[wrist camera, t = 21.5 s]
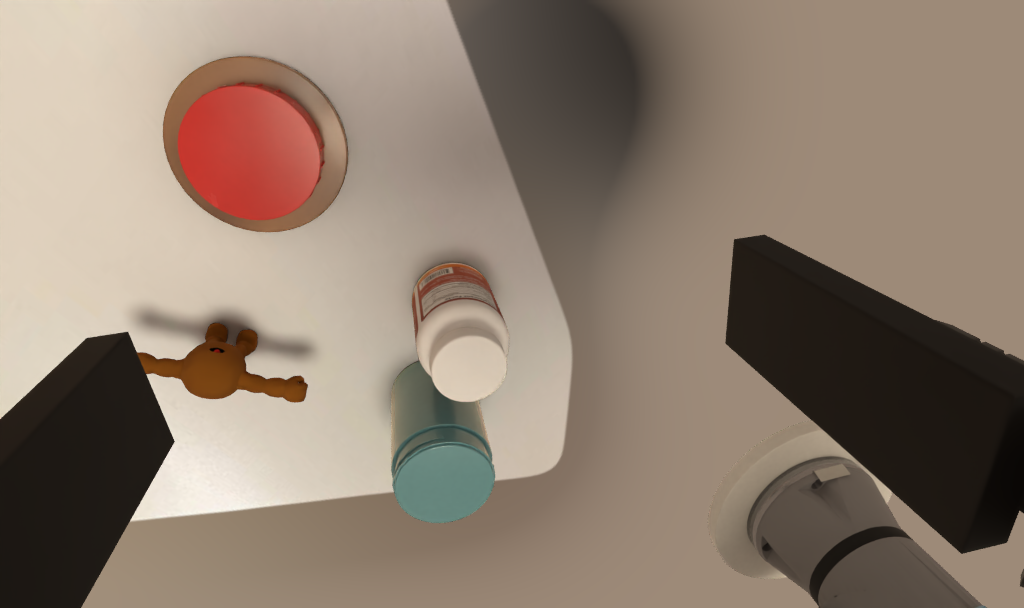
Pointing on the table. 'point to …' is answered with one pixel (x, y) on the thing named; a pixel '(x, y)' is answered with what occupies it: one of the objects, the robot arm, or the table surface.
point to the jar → (437, 450)
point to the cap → (251, 151)
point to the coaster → (293, 86)
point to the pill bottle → (460, 332)
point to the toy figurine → (223, 369)
